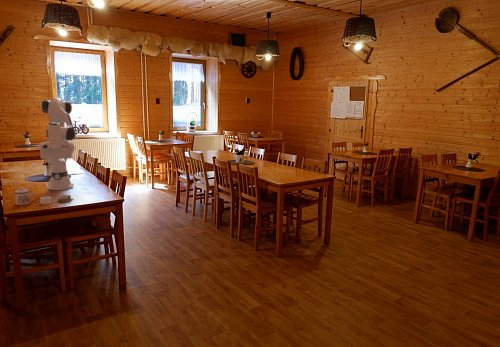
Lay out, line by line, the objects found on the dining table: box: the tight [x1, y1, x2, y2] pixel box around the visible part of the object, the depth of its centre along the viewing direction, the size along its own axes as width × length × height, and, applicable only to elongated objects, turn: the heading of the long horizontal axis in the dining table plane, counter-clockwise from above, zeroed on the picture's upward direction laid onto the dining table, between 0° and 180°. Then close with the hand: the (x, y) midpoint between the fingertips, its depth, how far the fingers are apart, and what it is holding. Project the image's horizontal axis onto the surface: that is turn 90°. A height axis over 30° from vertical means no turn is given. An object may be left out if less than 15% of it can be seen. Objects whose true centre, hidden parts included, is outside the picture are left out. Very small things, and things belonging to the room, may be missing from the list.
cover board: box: [57, 194, 72, 204], centre depth 269 cm, size 9×6×3 cm, turn 11°
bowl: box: [39, 195, 53, 205], centre depth 263 cm, size 6×6×5 cm
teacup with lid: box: [13, 186, 35, 206], centre depth 264 cm, size 12×9×12 cm
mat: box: [55, 198, 74, 204], centre depth 269 cm, size 12×10×1 cm
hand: (57, 165), depth 267 cm, fingers open, 8 cm apart
